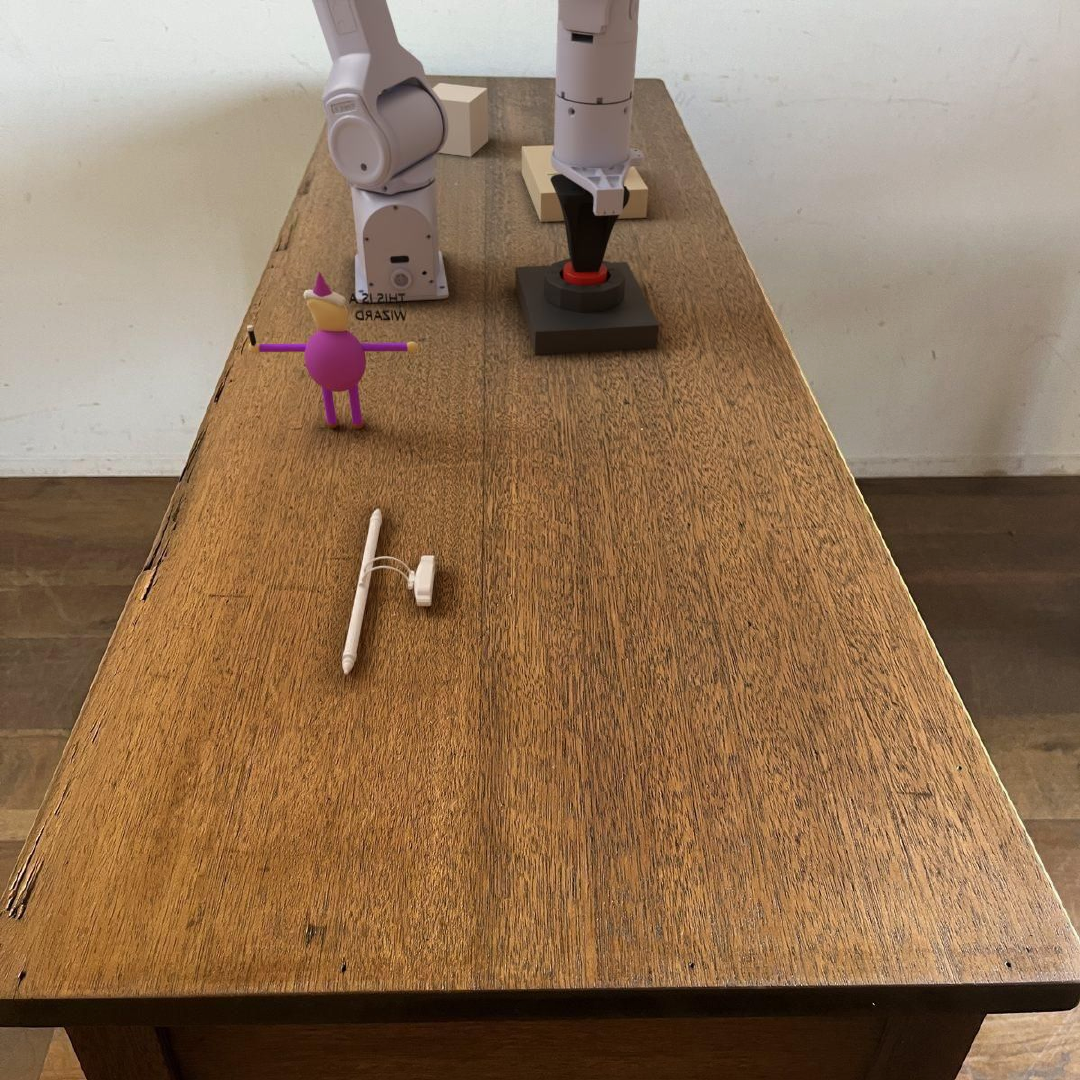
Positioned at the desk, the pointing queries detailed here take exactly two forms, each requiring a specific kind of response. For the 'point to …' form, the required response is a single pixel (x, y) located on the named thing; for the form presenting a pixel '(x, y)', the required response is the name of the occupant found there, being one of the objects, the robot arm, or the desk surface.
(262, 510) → the desk surface
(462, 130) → the beige cube
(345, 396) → the desk surface
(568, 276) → the power button
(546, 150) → the panel
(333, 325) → the wizard figurine
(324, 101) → the robot arm
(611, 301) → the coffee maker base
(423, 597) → the picture light
